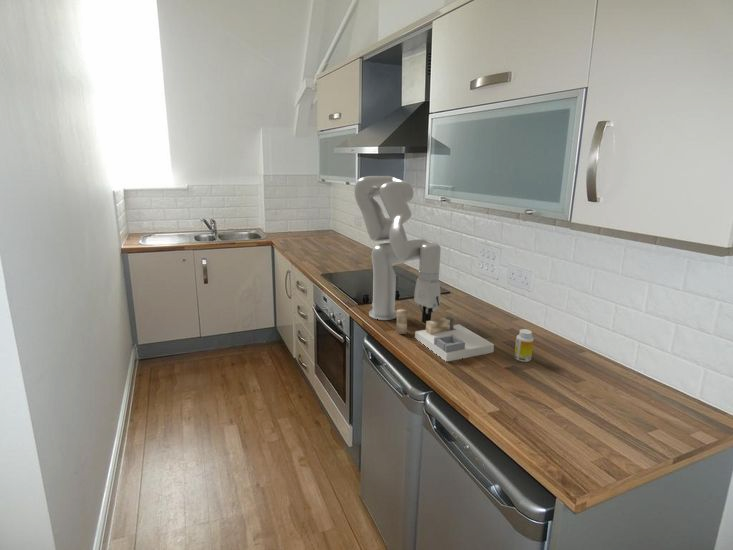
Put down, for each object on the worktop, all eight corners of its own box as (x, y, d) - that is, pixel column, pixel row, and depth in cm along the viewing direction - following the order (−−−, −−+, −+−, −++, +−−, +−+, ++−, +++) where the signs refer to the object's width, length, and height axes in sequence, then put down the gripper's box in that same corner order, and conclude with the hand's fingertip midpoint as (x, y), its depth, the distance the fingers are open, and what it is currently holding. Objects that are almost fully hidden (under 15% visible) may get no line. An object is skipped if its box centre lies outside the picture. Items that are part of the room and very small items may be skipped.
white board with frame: (414, 338, 169) (415, 325, 168) (458, 331, 177) (459, 318, 176) (446, 361, 151) (447, 346, 149) (493, 352, 159) (494, 338, 157)
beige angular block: (449, 326, 174) (450, 316, 173) (454, 328, 171) (455, 319, 170) (425, 331, 168) (426, 321, 167) (430, 334, 166) (431, 324, 164)
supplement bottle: (534, 360, 153) (538, 332, 150) (523, 363, 150) (526, 335, 148) (521, 354, 158) (525, 327, 155) (510, 357, 155) (513, 329, 152)
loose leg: (394, 331, 176) (395, 310, 173) (403, 330, 177) (404, 308, 175) (399, 335, 172) (400, 313, 170) (408, 333, 174) (409, 312, 171)
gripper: (408, 273, 171) (406, 318, 176) (435, 282, 159) (432, 330, 164) (422, 270, 175) (420, 314, 180) (450, 279, 164) (447, 326, 168)
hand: (426, 321), depth 172 cm, fingers closed
